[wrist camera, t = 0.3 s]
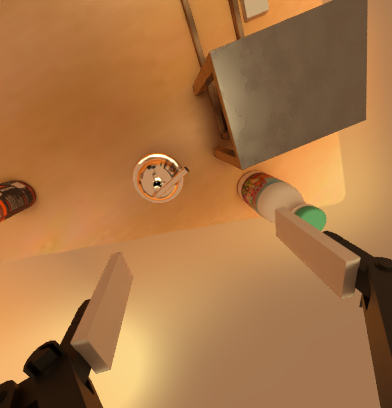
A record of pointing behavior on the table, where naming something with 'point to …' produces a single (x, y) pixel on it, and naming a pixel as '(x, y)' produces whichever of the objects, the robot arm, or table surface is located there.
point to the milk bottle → (277, 198)
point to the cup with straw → (158, 177)
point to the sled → (200, 54)
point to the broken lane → (254, 8)
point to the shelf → (291, 81)
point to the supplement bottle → (14, 198)
